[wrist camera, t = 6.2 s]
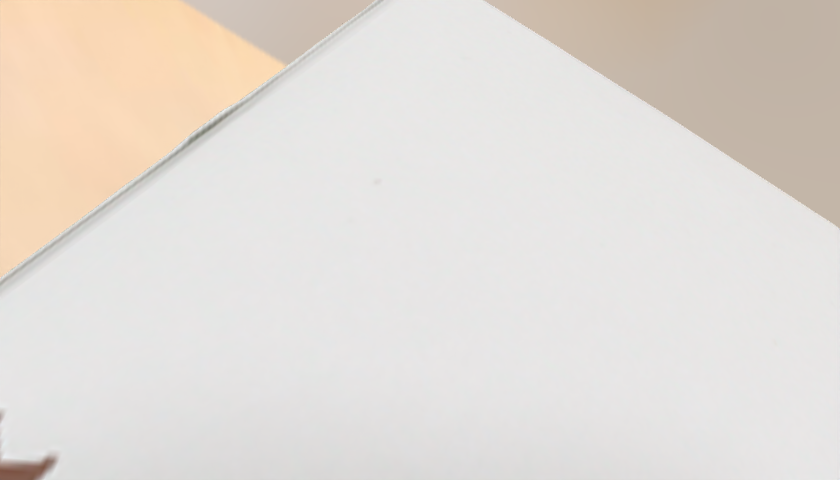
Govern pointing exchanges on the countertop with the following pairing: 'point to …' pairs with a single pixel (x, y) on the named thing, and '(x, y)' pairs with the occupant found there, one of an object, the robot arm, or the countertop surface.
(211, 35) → the countertop surface
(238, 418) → the supplement box
